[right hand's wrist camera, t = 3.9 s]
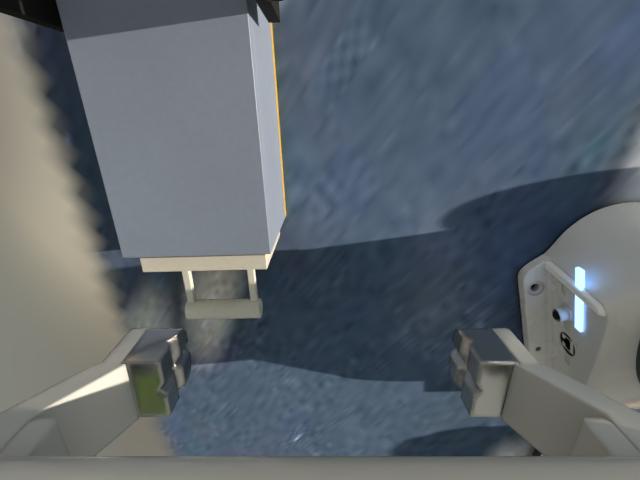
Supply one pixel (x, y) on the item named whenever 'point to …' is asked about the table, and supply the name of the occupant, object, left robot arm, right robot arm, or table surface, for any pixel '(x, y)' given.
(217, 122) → the cabinet
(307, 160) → the table surface
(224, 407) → the table surface
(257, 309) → the drawer
